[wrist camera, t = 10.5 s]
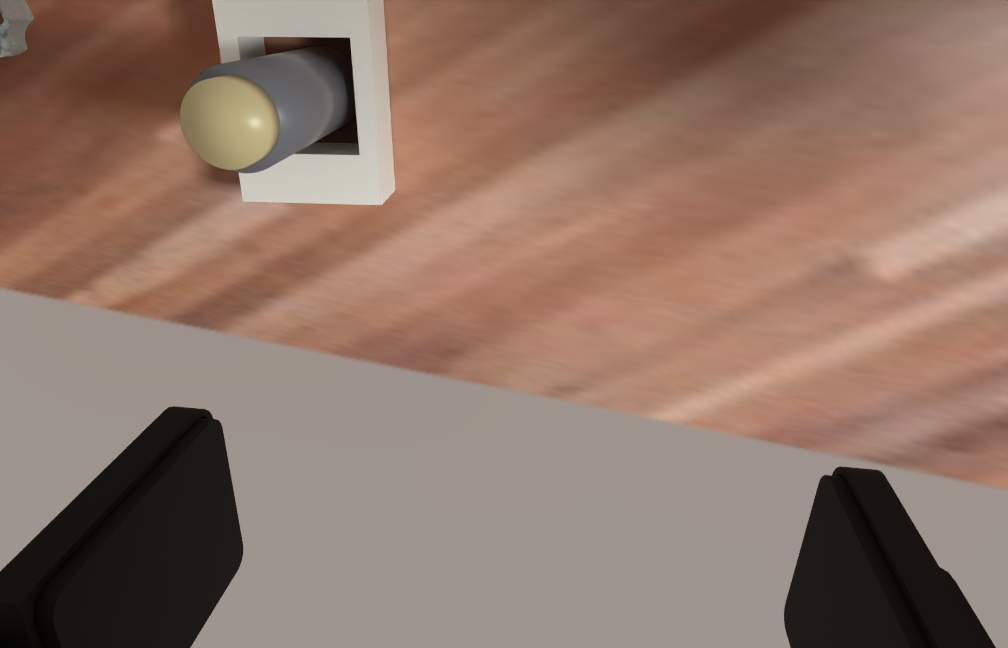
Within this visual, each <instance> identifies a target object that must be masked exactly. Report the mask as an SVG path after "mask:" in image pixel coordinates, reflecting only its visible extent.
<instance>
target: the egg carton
mask: <svg viewBox="0 0 1008 648" xmlns="http://www.w3.org/2000/svg"><path fill="white" fill-rule="evenodd" d="M0 13H1V14H2V16H3V19H4V22H3V23H2V24H1V25H0V58H1V57H6V56H8V57H11V56H15V55H19V54H21V53H23V52H25V51H26V50H27V49H28V48H27V44H26V40H25V32H26V29H27V27H28V25H29V24H30V23H31V22H32V21H33V19H34V16H33V14H32V12H31V10H30V9H29V7H28V5H27V3H26V1H25V0H0Z"/></svg>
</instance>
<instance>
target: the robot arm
mask: <svg viewBox="0 0 1008 648" xmlns="http://www.w3.org/2000/svg"><path fill="white" fill-rule="evenodd" d="M242 556H243V542H242V537H241V531H240V526H239V520H238V514H237V508H236V503H235V497H234V491H233V485H232V481H231V474H230V469H229V463H228V457H227V451H226V446H225V440H224V434H223V429H222V425H221V423H220V421H218V420H215V419H213V417H212V415H211V413H210V412H209V411H208V410H206V409H196V408H185V407H169V408H168V409H166V410H165V411H164V412H163V413H162V414H161V415H160V416H159V417H158V418H157V419H155V421H153V422H152V423H151V424H150V425H149V426H148V427H147V428H146V429H145V430H144V431H143V432H142V433H141V434H140V435H139V436H138V437H137V438H136V439H135V440H134V441H133V442H132V443H131V444H130V445H129V446H128V447H127V448H126V449H125V450H124V451H123V452H122V453H121V454H120V455H119V456H118V457H117V458H116V459H115V460H114V461H113V462H112V463H111V464H110V465H108V467H107V468H106V469H104V470H103V471H102V472H101V473H100V474H99V475H98V476H97V477H96V478H95V479H94V480H93V481H92V482H91V483H90V484H89V485H88V486H87V487H86V488H85V489H84V490H83V491H82V492H81V493H80V494H79V495H78V496H77V497H76V498H75V499H74V500H73V501H72V502H71V503H70V504H69V505H68V506H67V507H66V508H65V509H64V510H63V511H62V512H61V513H59V514H58V515H57V516H56V518H54V520H52V521H51V522H50V523H49V524H48V525H47V526H46V527H45V528H44V529H43V530H42V531H41V532H40V533H39V534H38V535H37V536H36V537H35V538H34V539H33V540H32V541H31V542H30V543H29V544H28V545H27V546H26V547H25V548H24V549H23V550H22V551H21V552H20V553H19V554H18V555H17V556H16V557H15V558H14V559H13V560H12V561H11V562H10V563H9V564H7V565H6V566H5V567H4V568H3V569H2V570H1V571H0V648H190V647H191V646H192V644H193V642H194V640H195V639H196V637H197V635H198V634H199V632H200V631H201V629H202V628H203V626H204V624H205V623H206V621H207V619H208V618H209V616H210V615H211V613H212V611H213V610H214V608H215V606H216V604H217V603H218V602H219V600H220V598H221V597H222V595H223V593H224V592H225V590H226V589H227V587H228V585H229V583H230V582H231V580H232V579H233V577H234V576H235V574H236V572H237V570H238V569H239V567H240V564H241V561H242ZM784 621H785V629H786V633H787V636H788V639H789V643H790V647H791V648H996V647H995V646H994V644H993V642H992V641H991V639H990V638H989V636H988V634H987V632H986V631H985V629H984V628H983V626H982V625H981V623H980V621H979V619H978V618H977V616H976V614H975V613H974V611H973V610H972V608H971V606H970V605H969V603H968V601H967V600H966V598H965V596H964V595H963V593H962V592H961V590H960V588H959V587H958V585H957V583H956V582H955V581H954V579H953V578H952V577H951V575H950V574H949V573H948V572H947V571H945V570H943V569H942V568H940V567H939V566H938V564H937V562H936V561H935V559H934V557H933V556H932V554H931V552H930V551H929V549H928V547H927V546H926V544H925V542H924V541H923V539H922V537H921V536H920V534H919V532H918V531H917V529H916V527H915V525H914V524H913V522H912V521H911V519H910V517H909V516H908V514H907V512H906V510H905V509H904V507H903V506H902V504H901V502H900V500H899V499H898V497H897V495H896V494H895V492H894V490H893V489H892V487H891V485H890V484H889V482H888V481H887V479H886V477H885V475H884V474H883V473H882V472H881V471H879V470H872V469H861V468H850V467H838V468H836V469H835V471H834V472H833V474H832V476H829V475H824V476H822V478H821V479H820V482H819V485H818V488H817V492H816V496H815V499H814V503H813V506H812V510H811V514H810V517H809V521H808V524H807V528H806V531H805V535H804V539H803V542H802V546H801V549H800V553H799V557H798V560H797V564H796V568H795V571H794V575H793V578H792V582H791V586H790V589H789V593H788V596H787V600H786V604H785V610H784Z"/></svg>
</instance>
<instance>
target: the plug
mask: <svg viewBox="0 0 1008 648" xmlns="http://www.w3.org/2000/svg"><path fill="white" fill-rule="evenodd" d="M355 115H356V105H355V92H354V80H353V68H352V64H351V62H350V61H349V60H348V59H347V58H346V57H345V56H343V55H342V54H341V53H339V52H337V51H335V50H333V49H331V48H327V47H321V46H315V47H308V48H303V49H297V50H292V51H287V52H281V53H276V54H270V55H265V56H260V57H254V58H249V59H243V60H238V61H233V62H227V63H222V64H217V65H214V66H211V67H209V68H207V69H206V70H204V71H203V72H202V73H200V74H199V75H198V76H197V77H196V79H195V80H194V81H193V83H192V84H191V86H190V89H189V90H188V92H187V93H186V95H185V96H184V99H183V101H182V104H181V109H180V122H181V128H182V131H183V134H184V136H185V138H186V140H187V142H188V144H189V145H190V147H191V148H192V149H193V151H194V152H195V153H196V154H197V155H198V156H199V157H200V158H202V159H203V160H204V161H206V162H207V163H209V164H211V165H213V166H215V167H218V168H221V169H227V170H230V171H233V172H238V173H256V172H260V171H263V170H266V169H268V168H270V167H271V166H273V165H275V164H277V163H278V162H280V161H282V160H284V159H286V158H287V157H289V156H291V155H293V154H294V153H296V152H298V151H300V150H302V149H303V148H305V147H307V146H309V145H310V144H312V143H314V142H316V141H317V140H319V139H321V138H323V137H325V136H326V135H328V134H330V133H332V132H333V131H335V130H337V129H339V128H340V127H342V126H344V125H346V124H347V123H348V122H350V121H351V120H352V119H353V117H354V116H355Z"/></svg>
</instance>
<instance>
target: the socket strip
mask: <svg viewBox="0 0 1008 648" xmlns="http://www.w3.org/2000/svg"><path fill="white" fill-rule="evenodd" d="M212 4H213V10H214V17H215V23H216V29H217V36H218V42H219V49H220V55H219V57H220V63H221V64H222V63H227V62H233V61H238V60H243V59H249V58H254V57H260V56H265V55H266V53H265V45H264V37H344V38H350V43H351V56H352V68H353V80H354V92H355V105H356V117H357V129H358V142H359V143H318V142H314V143H312V144H310V145H309V146H307V147H305V148H303V149H302V150H300V151H298V152H296V153H294V154H293V155H291V156H289V157H287V158H286V159H284V160H282V161H280V162H278V163H277V164H275V165H273V166H271V167H270V168H268V169H266V170H263V171H260V172H256V173H239V178H240V184H241V191H242V197H243V201H246V202H284V203H322V204H360V205H382V204H383V203H384V202H385V201H386V200H387V199H388V198H389V196H390V195H391V194H392V193H393V192H394V191H395V178H394V161H393V145H392V129H391V113H390V97H389V80H388V64H387V48H386V32H385V16H384V0H212Z"/></svg>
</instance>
